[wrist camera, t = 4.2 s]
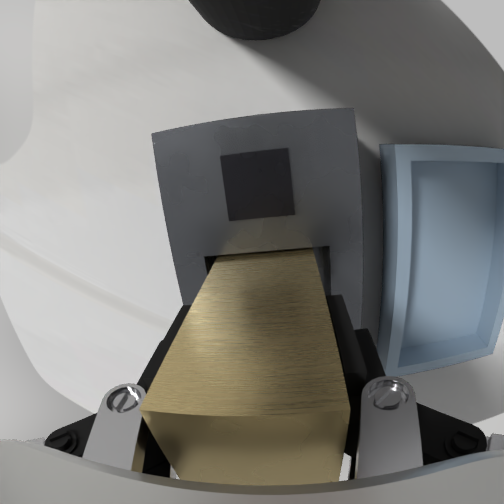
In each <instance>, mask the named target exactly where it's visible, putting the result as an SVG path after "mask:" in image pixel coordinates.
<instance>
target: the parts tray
mask: <svg viewBox="0 0 504 504" xmlns="http://www.w3.org/2000/svg"><path fill="white" fill-rule="evenodd" d="M379 146H380V158H381V173H382V193H383V274H382V294H381V309H380V321H379V332H378V342H377V353H378V356H379V358H380V361H381V364H382V366H383V369H384V372H385V374H386V376H395V377H397V376H403V375H408V374H413V373H418V372H423V371H428V370H432V369H437V368H441V367H445V366H450V365H454V364H458V363H461V362H465V361H469V360H473V359H476V358H480V357H483V356H487V355H490V354H493V351H494V348H495V345H496V342H497V338H498V335H499V332H500V328H501V325H502V321H503V318H504V149H501V148H490V147H476V146H460V145H435V144H379Z"/></svg>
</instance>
